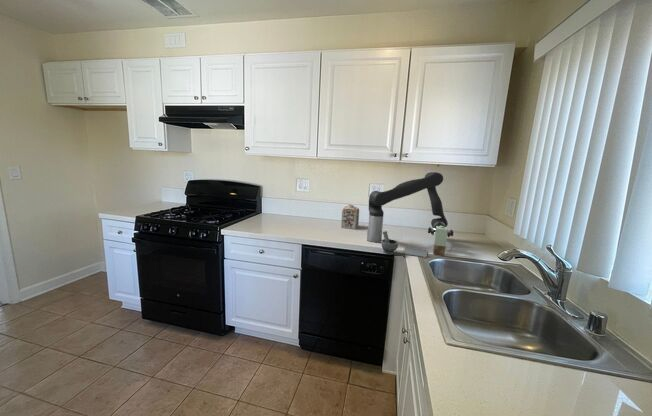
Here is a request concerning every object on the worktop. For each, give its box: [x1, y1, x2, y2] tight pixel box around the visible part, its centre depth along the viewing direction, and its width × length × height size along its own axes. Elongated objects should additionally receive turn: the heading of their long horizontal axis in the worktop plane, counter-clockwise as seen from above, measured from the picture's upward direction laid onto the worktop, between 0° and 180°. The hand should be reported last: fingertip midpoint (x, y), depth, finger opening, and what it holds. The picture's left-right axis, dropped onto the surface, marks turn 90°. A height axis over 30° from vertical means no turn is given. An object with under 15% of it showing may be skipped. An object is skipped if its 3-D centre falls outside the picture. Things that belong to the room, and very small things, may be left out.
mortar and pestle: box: [380, 230, 399, 255], centre depth 159 cm, size 11×9×12 cm
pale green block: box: [433, 226, 449, 248], centre depth 158 cm, size 6×6×11 cm
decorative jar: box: [340, 203, 360, 230], centre depth 215 cm, size 12×12×18 cm
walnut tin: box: [432, 244, 447, 257], centre depth 160 cm, size 6×6×8 cm
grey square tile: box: [402, 246, 428, 259], centre depth 161 cm, size 13×13×1 cm
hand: (440, 234), depth 160 cm, fingers open, 8 cm apart
